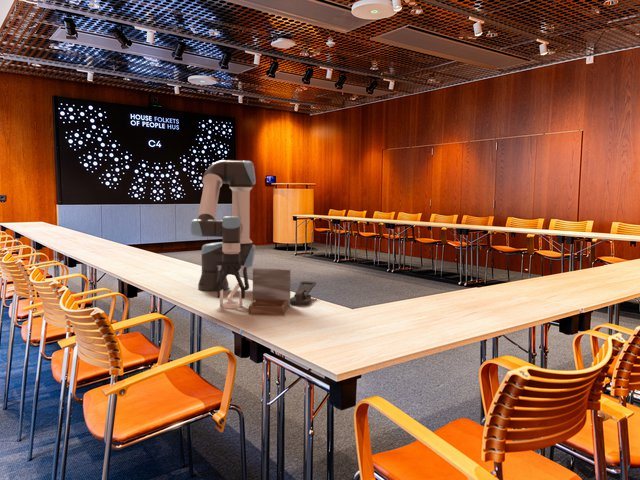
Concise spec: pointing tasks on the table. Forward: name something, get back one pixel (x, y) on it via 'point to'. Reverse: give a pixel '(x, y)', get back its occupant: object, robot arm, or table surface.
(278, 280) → the open wooden box
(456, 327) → the table surface
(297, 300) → the zipper pull
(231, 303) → the pink door lever handle
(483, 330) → the table surface
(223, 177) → the robot arm
